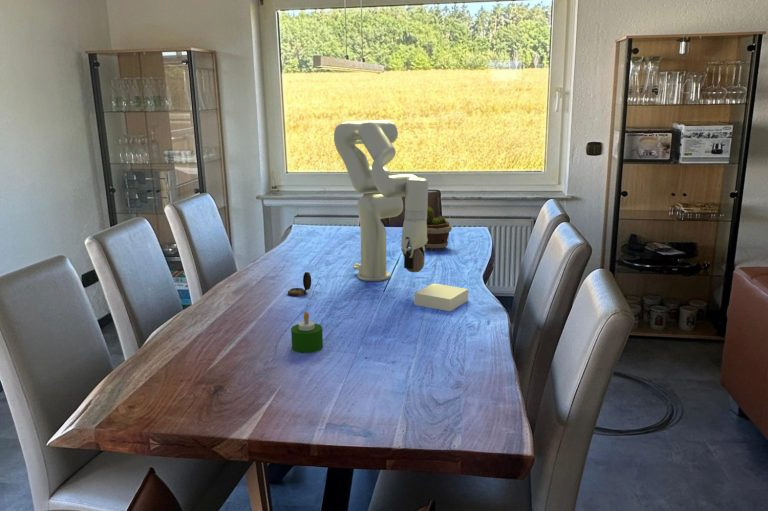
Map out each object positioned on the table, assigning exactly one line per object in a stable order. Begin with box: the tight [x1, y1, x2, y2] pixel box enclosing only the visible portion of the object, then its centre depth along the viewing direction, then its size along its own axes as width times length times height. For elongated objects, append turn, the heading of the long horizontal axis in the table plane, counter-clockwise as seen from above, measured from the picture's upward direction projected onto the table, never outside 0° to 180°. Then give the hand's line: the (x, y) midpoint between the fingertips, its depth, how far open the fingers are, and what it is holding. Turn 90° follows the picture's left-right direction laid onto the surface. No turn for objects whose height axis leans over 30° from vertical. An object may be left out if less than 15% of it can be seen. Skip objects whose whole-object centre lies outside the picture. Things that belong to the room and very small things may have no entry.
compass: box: [287, 271, 312, 297], centre depth 214 cm, size 8×8×7 cm
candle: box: [290, 311, 324, 354], centre depth 167 cm, size 8×8×10 cm
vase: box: [406, 248, 425, 273], centre depth 212 cm, size 7×7×9 cm
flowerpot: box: [425, 205, 453, 251], centre depth 278 cm, size 14×15×20 cm
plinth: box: [413, 282, 469, 312], centre depth 204 cm, size 13×13×4 cm
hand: (414, 265), depth 213 cm, fingers closed on vase, 6 cm apart
